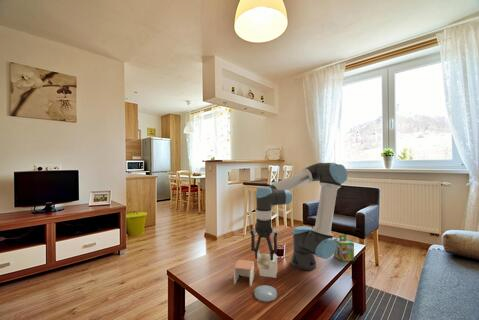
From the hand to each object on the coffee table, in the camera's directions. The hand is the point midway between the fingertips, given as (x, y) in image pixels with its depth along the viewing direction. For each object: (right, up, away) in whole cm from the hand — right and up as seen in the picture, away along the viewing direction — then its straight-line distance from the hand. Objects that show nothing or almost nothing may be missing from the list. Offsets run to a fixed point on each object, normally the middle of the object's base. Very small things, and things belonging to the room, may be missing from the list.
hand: (264, 265), depth 105 cm
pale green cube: (+5, -14, +19) cm, 24 cm away
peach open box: (-9, -14, +12) cm, 21 cm away
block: (0, 0, 0) cm, 0 cm away
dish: (+1, -14, -1) cm, 14 cm away
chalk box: (+57, -13, +35) cm, 68 cm away
